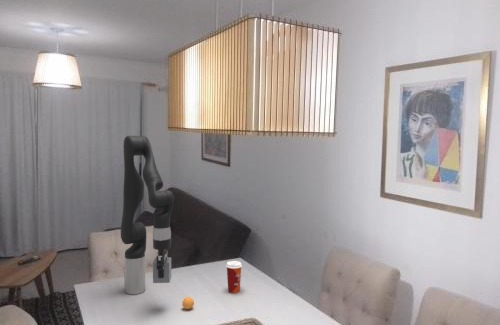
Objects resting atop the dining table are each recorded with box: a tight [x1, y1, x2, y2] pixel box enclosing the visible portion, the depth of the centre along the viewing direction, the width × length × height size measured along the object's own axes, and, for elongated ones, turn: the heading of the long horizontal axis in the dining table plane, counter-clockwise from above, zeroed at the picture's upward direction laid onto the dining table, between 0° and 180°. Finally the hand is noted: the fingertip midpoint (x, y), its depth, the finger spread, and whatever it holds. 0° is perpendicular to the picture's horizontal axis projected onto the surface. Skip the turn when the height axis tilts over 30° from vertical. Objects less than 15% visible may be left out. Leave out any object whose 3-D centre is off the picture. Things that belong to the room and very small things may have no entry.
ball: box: [181, 296, 195, 310], centre depth 172 cm, size 5×5×5 cm
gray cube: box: [152, 256, 172, 284], centre depth 170 cm, size 7×7×9 cm
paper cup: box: [225, 260, 243, 294], centre depth 191 cm, size 8×8×14 cm
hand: (162, 274), depth 170 cm, fingers closed on gray cube, 7 cm apart
